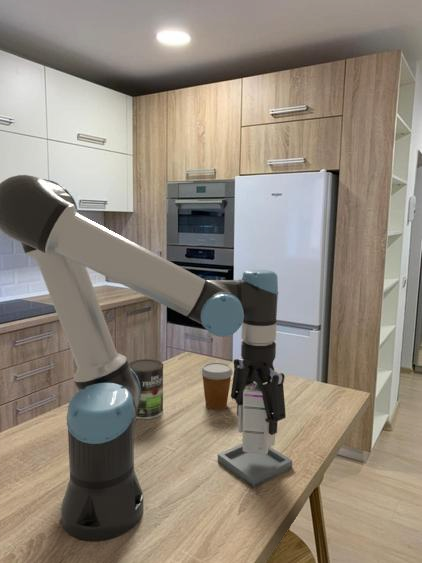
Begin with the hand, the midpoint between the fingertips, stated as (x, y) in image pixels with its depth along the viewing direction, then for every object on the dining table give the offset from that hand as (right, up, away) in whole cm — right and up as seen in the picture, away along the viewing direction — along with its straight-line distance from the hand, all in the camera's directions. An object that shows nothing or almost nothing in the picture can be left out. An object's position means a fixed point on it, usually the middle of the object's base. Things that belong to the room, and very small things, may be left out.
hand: (255, 437), depth 95 cm
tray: (0, -6, +1) cm, 6 cm away
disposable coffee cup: (-9, -2, +31) cm, 32 cm away
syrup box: (0, -2, 0) cm, 2 cm away
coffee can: (-29, -2, +26) cm, 39 cm away
